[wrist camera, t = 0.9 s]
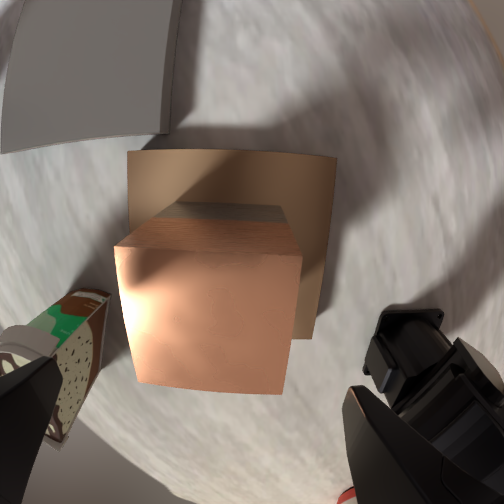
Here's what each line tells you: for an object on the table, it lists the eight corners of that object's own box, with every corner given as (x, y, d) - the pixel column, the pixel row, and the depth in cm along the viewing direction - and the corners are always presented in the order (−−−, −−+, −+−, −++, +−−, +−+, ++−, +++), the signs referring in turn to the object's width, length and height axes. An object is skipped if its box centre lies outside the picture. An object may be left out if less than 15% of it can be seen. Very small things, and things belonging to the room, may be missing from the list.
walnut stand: (328, 157, 17) (336, 158, 15) (307, 323, 21) (311, 339, 19) (139, 150, 17) (127, 150, 15) (149, 313, 21) (141, 328, 19)
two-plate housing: (280, 205, 16) (302, 256, 9) (272, 300, 18) (281, 394, 11) (175, 201, 16) (113, 246, 9) (178, 294, 18) (138, 381, 11)
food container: (52, 248, 19) (-32, 306, 10) (114, 278, 20) (41, 360, 11) (50, 352, 23) (2, 417, 14) (99, 379, 24) (60, 454, 15)
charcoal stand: (189, -38, 12) (183, -52, 10) (169, 133, 17) (159, 132, 15) (38, 5, 12) (25, -1, 10) (16, 152, 17) (0, 154, 15)
